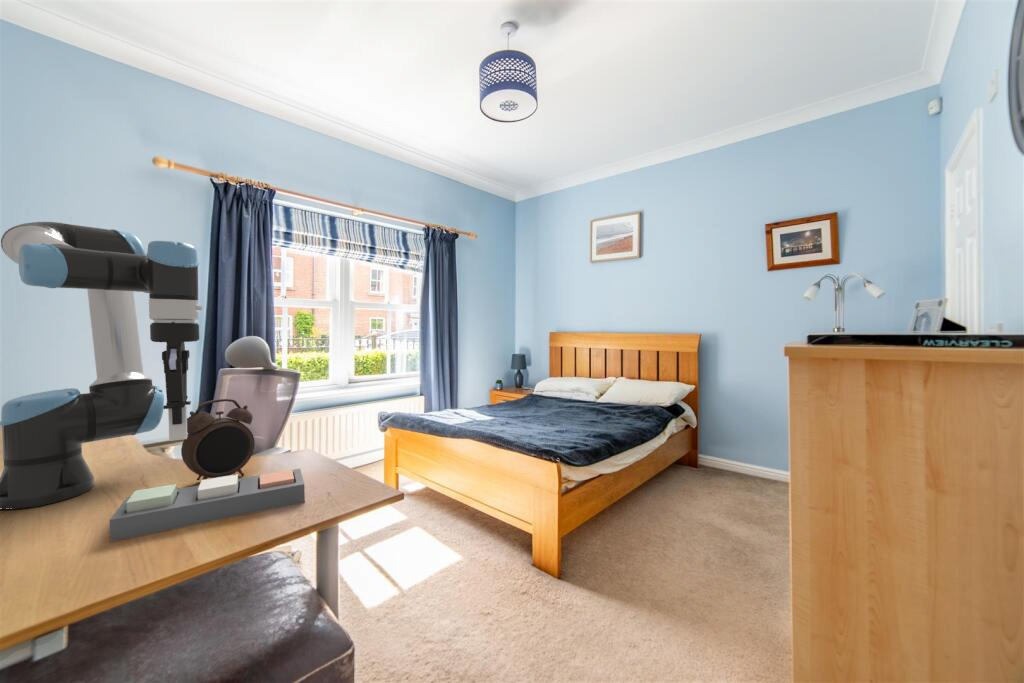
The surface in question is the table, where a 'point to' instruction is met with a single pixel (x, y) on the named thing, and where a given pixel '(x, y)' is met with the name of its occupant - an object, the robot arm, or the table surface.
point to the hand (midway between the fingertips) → (178, 438)
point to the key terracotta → (276, 479)
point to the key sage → (152, 498)
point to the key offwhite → (218, 487)
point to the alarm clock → (218, 442)
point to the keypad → (205, 507)
